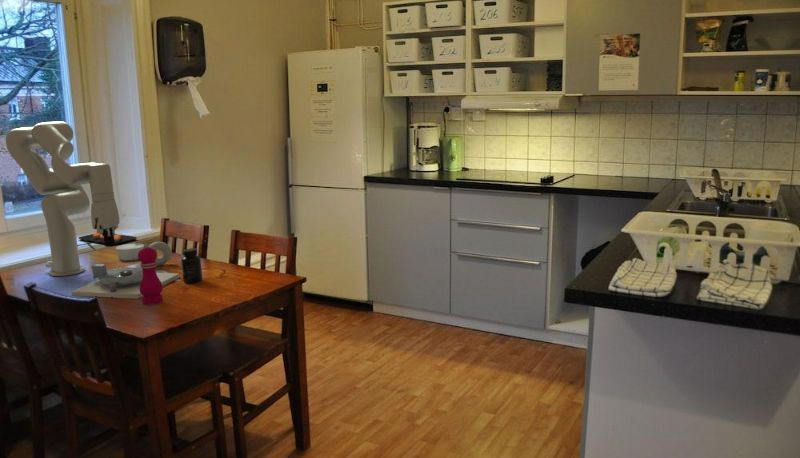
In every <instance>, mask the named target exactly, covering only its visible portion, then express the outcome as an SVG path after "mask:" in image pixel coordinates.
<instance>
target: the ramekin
mask: <svg viewBox="0 0 800 458" xmlns="http://www.w3.org/2000/svg"><path fill="white" fill-rule="evenodd" d="M143 248H144V244H143V243H126V244H121V245H118V246H115V251H116V253H117V256H118V259H119V260H120V261H123V262H124V261H125V262H127V261H128V262H129V261H130V262H131V261H137V260H139V259H138V253H139V251H140V250H141V249H143Z"/></svg>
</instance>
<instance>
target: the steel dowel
mask: <svg viewBox="0 0 800 458" xmlns="http://www.w3.org/2000/svg"><path fill="white" fill-rule="evenodd" d="M109 285H110V292H116V291H117V290H116V282H115V281H110V282H109Z"/></svg>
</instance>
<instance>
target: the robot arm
mask: <svg viewBox="0 0 800 458" xmlns="http://www.w3.org/2000/svg"><path fill="white" fill-rule="evenodd" d="M73 139H74V131H73V128H72V127H71V125H70V124H68V123H67V122H65V121H46V122H39V123H36V124H35V125H34V126H27V127H19V128H14V129H11V130H10V131H7V134H6V136H5V144H6V149H7V151H8V153H9V154H10V155H9V156H10V157H11V158H12V159H13V160H14V162H16V164H17V165H18V166H19V167H20V168H21V169H22V171H23V172H24V174H25V176H26V178H27V180H28V181H29V183H30V185H31V186H32V188H33V189H34V191H35V192H36V193H37V194H39V195H42V196H44V195H45V196H44V197H43V198H42V199H41V201H40V207H41V212H42V213H43V216H44V219H45V225H46V228H47V233H48V240H49V241H48V242H49V247H50V256H51V261H50V260H49V261H47V263H45V268H50V270H49V273H48V274H49V276H52V277H67V276H72V275H76V274H80V273H83V272H85V270H86V269H85V266H84V265H81V261H80V254H79V248H78V247H79V246H77V245H78V239H77V233H76V227H75V225H74V223H73V222H72V221H71V219H70V218H69V217H70V216H74V215H75V216H76V215H79V214H83V213H86V212H87V211H88V210H89V209H90V216H91V217H90V218H91V226H92V229H93V230H96V232H97V233H101V234H102V236H103V237H104V243H103V244H104V247H106V248H112V247H114V246H115V247H116V244H115V240H114V234H116V232H115V231H116V230H117V229H119V224H120V215H119V209H118V205H117V201H116V198H115V191H114V186H113V185H114V184H113V178H112V176H113V175H112V171H111V169H112V168H111V166H110V165H109V163H105V162H104V163H100V162H99V163H97V162H84V163H75V164H69V163H67V160H68V159H69V158H70V157H71V156H72V155H73V153H74V148H75V147H74V144H73V143H72V142H71V141H72V140H73ZM34 149H35V150H37V149H43V150H44V151H46V152H47V154H48V155H49V156H51V159H50V162H51V167H49V165H48V163H46V161H45V159H44V158H43V157H41V156H40V154H37V153H36V152H34V151H33V150H34ZM86 184H89V187H90V193H91V194H90V195H91V201H92V202H91V201H90V199H89V196H88V194H87V192H86V191H85V189H84V187H83V186H82V185H86ZM90 203H91V204H90Z"/></svg>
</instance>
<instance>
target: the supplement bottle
mask: <svg viewBox="0 0 800 458" xmlns="http://www.w3.org/2000/svg"><path fill="white" fill-rule="evenodd" d="M197 250H198V249H197V248H186V249H183V250H182V255H183V257H182V258H181V261H180V263H181V272H182V281H183V283H185V284H187V285H189V284H197V283H200V282H202V281H203V271H202V261H201V260H202V259H201V257H200V256H199V255H198V251H197Z"/></svg>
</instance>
